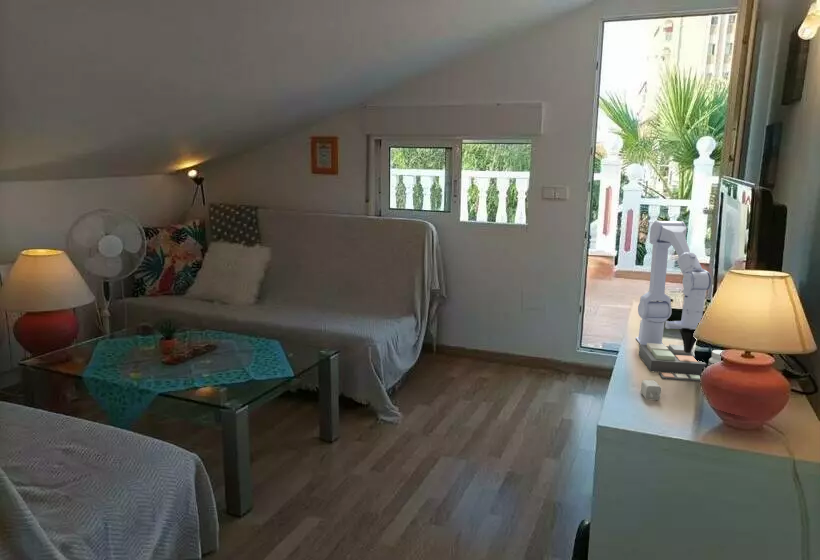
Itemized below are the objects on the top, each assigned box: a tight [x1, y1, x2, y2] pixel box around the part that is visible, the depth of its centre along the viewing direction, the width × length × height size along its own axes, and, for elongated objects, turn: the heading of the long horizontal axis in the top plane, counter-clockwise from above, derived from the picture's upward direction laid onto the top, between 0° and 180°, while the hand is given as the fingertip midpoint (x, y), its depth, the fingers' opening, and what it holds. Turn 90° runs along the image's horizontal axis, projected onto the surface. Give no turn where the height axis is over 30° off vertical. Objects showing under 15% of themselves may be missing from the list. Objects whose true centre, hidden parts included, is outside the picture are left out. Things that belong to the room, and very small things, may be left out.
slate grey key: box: [668, 343, 692, 355], centre depth 199 cm, size 5×5×3 cm
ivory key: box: [647, 343, 669, 352], centre depth 199 cm, size 5×5×3 cm
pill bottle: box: [707, 349, 724, 366], centre depth 180 cm, size 6×6×10 cm
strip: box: [658, 372, 701, 383], centre depth 185 cm, size 12×4×1 cm, turn 83°
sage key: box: [652, 350, 675, 361], centre depth 193 cm, size 5×5×3 cm
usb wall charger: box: [640, 379, 662, 401], centre depth 169 cm, size 4×7×4 cm, turn 177°
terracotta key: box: [675, 355, 698, 362], centre depth 192 cm, size 5×5×3 cm
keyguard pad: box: [638, 343, 707, 375], centre depth 196 cm, size 16×16×4 cm
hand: (687, 351), depth 191 cm, fingers closed
